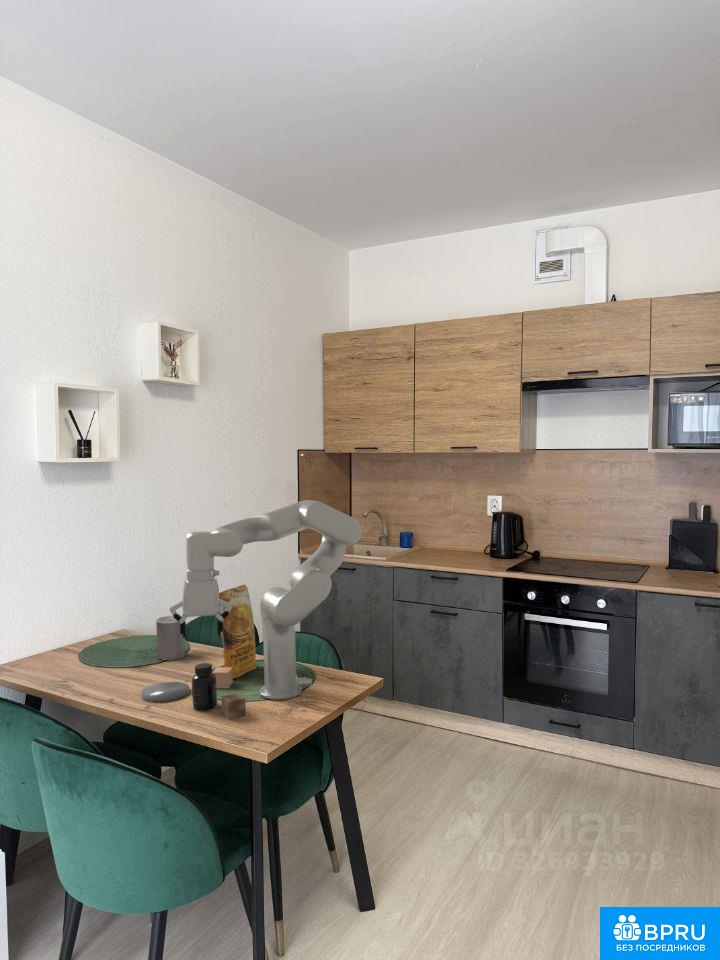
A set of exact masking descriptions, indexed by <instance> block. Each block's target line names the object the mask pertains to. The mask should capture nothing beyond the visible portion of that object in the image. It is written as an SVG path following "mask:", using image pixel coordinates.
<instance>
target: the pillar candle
mask: <svg viewBox="0 0 720 960" xmlns="http://www.w3.org/2000/svg"><path fill="white" fill-rule="evenodd" d="M155 621H156V624H155V625H156V658H157V657H158V658H161V659H166V660H167V661H166V662H172V661H177V660H181V659H183V658H184V657H185V656H186V646H185V645H186V637H185V638H183V634H180V623H179V622H178V621H177V620H176V619H175V618H174V617H173V615H168V616H166V615H165V616H162V617H158V618H157V619H156V620H155Z"/></svg>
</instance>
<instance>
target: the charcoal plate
mask: <svg viewBox="0 0 720 960" xmlns="http://www.w3.org/2000/svg"><path fill="white" fill-rule="evenodd" d="M189 693H190V685H189V684H188V683H185V682H180V681H165V682H164V681H163V682H159V683H155V684H151V685H148V686H146V687H145V688H143V689H142V690H141V691H140V697H142V698H141V699H142V700H143V699H144V701H145V700H146V702H149V701H151V702H150V703H165V702H167V703H168V702H172V701H177V700H179V699H182V698H184V697H186V696H188V694H189Z"/></svg>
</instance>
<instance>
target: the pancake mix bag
mask: <svg viewBox="0 0 720 960" xmlns="http://www.w3.org/2000/svg"><path fill="white" fill-rule="evenodd" d="M248 589H249V588H248V586H246V584H242V585H238V586H236V587H233V588H229V589H226V590H223V591H219V599H221V600H224V601H226V602H228V603H230V604H232V609H231V611H230V612H229V615H228V616H227V617H226V618H225V619H224V620H223V632H220V636H221V639H222V647H223V648H222V649H223V659H224V661H223V662H224V666H223V667H232V670H233V678H235V679H237V678H236V677H238V678H240V677H242V676H241V675H243V674H245V673H247V672H249V671H251V670H253V669H255V668H256V669H257V660H256V658H257V657H256V652H257V651H256V640H255V637H256V636H255V623H254V613H253V607H252V603H251V602H252V601H251V599H250V593H249V590H248ZM225 610H226V607H225V606H222V605H220V609H219V612H220V613H221V614H223V613H224V612H225ZM256 669H255V670H256ZM253 671H254V670H253ZM251 672H252V671H251ZM249 673H250V672H249ZM247 674H248V673H247ZM245 675H246V674H245ZM239 676H240V677H239ZM243 676H244V675H243Z"/></svg>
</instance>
